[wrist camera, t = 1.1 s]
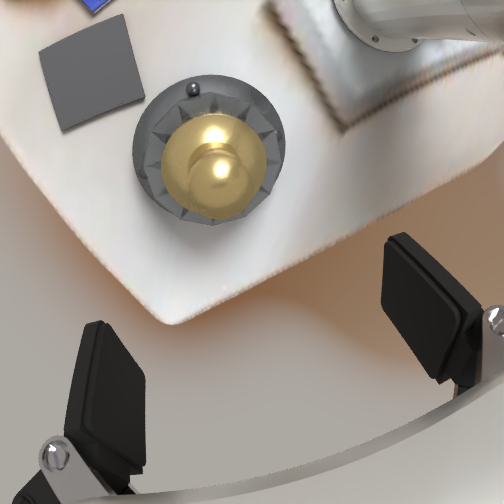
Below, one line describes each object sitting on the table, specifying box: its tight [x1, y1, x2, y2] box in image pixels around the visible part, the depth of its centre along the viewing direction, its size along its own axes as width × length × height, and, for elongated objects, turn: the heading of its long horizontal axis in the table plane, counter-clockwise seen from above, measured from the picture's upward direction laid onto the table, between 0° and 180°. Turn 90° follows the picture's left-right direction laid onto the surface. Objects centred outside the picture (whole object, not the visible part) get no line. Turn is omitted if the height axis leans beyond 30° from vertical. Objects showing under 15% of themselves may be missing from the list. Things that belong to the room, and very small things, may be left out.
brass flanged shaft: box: [161, 113, 267, 220], centre depth 23 cm, size 8×8×10 cm
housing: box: [132, 75, 285, 225], centre depth 27 cm, size 14×14×7 cm
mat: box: [39, 14, 145, 131], centre depth 23 cm, size 9×9×1 cm
